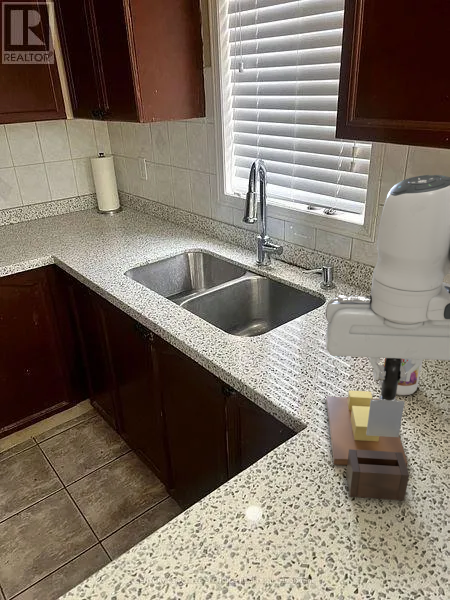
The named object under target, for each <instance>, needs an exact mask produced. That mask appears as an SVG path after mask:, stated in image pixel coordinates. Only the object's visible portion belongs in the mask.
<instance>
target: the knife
mask: <svg viewBox="0 0 450 600" xmlns="http://www.w3.org/2000/svg"><path fill="white" fill-rule="evenodd" d="M384 362H385V367H384V369H385V370H386V376H385V380H383V382H382V381H381V390H380V394H379V395H378V396H379V397H378V398H372V399H371V401H370V409H369V417H368V424H367V432H366V435H367V436H384V437H400V430H401V424H402V419H403V412H404V407H405V400H399V399H398V400H397V394H396V392H397V386H398V380H399V373H400V367H401V358H386V360H385V359H384ZM378 399H379V400H378Z"/></svg>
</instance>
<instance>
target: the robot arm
mask: <svg viewBox="0 0 450 600" xmlns="http://www.w3.org/2000/svg"><path fill="white" fill-rule="evenodd" d="M376 249H377V262H376V265H375V266H374V269H373V272H372V280H371V289H370V294H369V295H347V294H342V295H337V297H336V298H335V297H334V298H332V299H331V300H329V301H328V302H327V304H326V307H325V318H326V321H327V326H326V331H325V338H324V339H325V343H324V344H325V348H326V351H327V352H328V353H329V354H330V355H331V356H332V357H347V358H348V357H351V358H368V360H369V363H370V365H371V366H372V368H373V370H372V376H373V379H374V381H382V380H385V376H386V370H385V369H384V364H379V363H380V362H381V359H385V358H401V359H409V360H408V361H407V362H406V364H405V365H404V366H401V367H400V373H399V381H410V375H411V373H412V372H413V371H414V370H415V369H417V368H418V367H419V366H420V365H421V361H422V362H423V360H431V361H450V283H447V282H445V281H444V279H445V277H446V276H447V275H449V274H450V176H446V175H442V174H423V175H422V174H421V175H416V176H412V177H408V178H405V179H402V181H399V182H398V183H396V184H394V185H393V186H392V187H391V188H390V190H389V191H388V193H387V195H386V197H385V200H384V204H383V208H382V211H381V216H380V220H379V226H378V233H377V240H376ZM422 359H423V360H422Z"/></svg>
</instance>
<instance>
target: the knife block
mask: <svg viewBox="0 0 450 600" xmlns="http://www.w3.org/2000/svg"><path fill="white" fill-rule="evenodd" d="M345 475H346V483H347V489H348V495H349V496H348V497H351V498H363V499H376V500H389V501H401V502H404V501H405V497H406V494H407V490H408V489H407V488H408V484H409V479H410V473H409V470H408V465H407V466H406V463H405V460H404V456H403V453H402V452H386V451H370V450H353V449H349V453H348V462H347V465H346V472H345Z"/></svg>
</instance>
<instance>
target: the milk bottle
mask: <svg viewBox="0 0 450 600" xmlns="http://www.w3.org/2000/svg"><path fill="white" fill-rule="evenodd" d="M385 360H386V358H384V363H383V365H384V367H385ZM408 360H409V359H401V366H404V365H405V364H406V362H407V361H408ZM423 360H424V359H422V361H421V365H420V366H419V367H418V368H417V369H415V370H414V371H413V372H412V373H411V375H410V381H399V380H398V386H397V392H396V395H398V396H410V395H412V394H414V393H415V392H416V391H417V389H418V386H419V381H420V376H421V371H422V365H423ZM382 382H383V380H381V383H382Z"/></svg>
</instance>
